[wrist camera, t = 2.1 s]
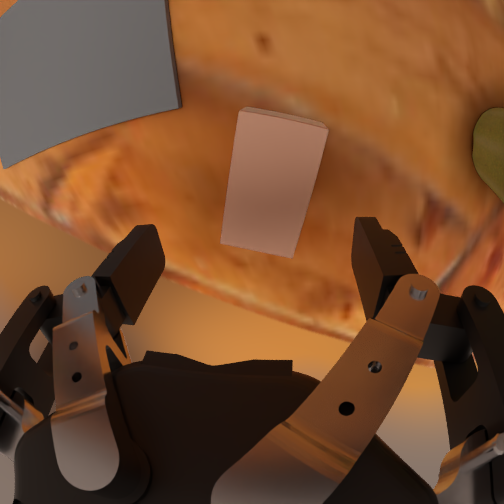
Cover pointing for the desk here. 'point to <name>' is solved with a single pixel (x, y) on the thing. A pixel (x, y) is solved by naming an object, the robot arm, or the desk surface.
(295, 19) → the desk surface
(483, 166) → the plant pot
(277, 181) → the block
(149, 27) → the mat
